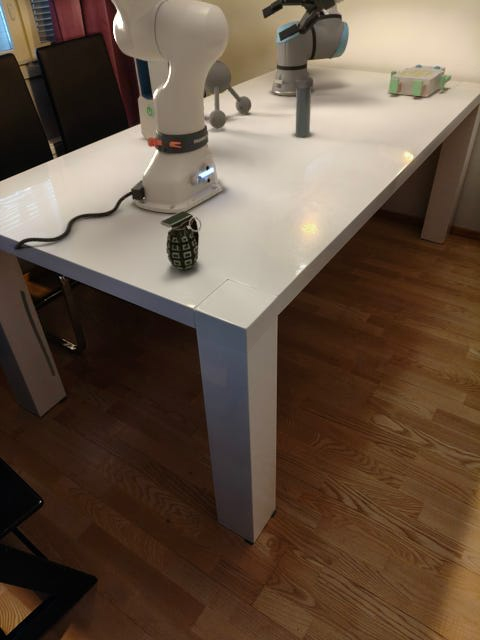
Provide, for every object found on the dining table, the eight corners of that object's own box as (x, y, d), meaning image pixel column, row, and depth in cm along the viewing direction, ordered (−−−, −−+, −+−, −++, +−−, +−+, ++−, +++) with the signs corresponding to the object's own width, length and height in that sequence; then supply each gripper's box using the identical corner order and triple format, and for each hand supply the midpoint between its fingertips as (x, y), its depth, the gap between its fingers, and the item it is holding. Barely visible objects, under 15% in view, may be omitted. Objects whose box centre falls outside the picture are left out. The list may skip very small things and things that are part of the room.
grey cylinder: (312, 134, 149) (314, 79, 139) (303, 138, 147) (305, 82, 137) (301, 132, 151) (303, 78, 142) (292, 135, 149) (293, 80, 140)
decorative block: (405, 62, 193) (457, 66, 183) (403, 80, 197) (453, 84, 187) (379, 75, 177) (434, 80, 167) (377, 94, 181) (431, 100, 171)
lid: (316, 86, 140) (316, 77, 139) (305, 89, 138) (305, 81, 136) (302, 83, 144) (303, 75, 142) (291, 87, 141) (291, 79, 139)
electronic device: (141, 137, 154) (123, 28, 136) (159, 131, 158) (144, 24, 140) (166, 145, 147) (151, 30, 129) (185, 138, 151) (172, 26, 133)
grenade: (182, 278, 88) (175, 228, 82) (162, 268, 91) (153, 219, 85) (208, 263, 92) (203, 214, 85) (187, 253, 95) (181, 205, 89)
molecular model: (271, 118, 163) (270, 14, 145) (215, 133, 154) (207, 23, 136) (232, 105, 179) (227, 9, 161) (180, 117, 170) (168, 17, 151)
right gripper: (323, -24, 141) (258, 14, 150) (345, 24, 163) (288, 55, 172) (317, -46, 142) (253, -7, 151) (340, 4, 164) (283, 36, 173)
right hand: (271, 26), depth 162 cm, fingers open, 13 cm apart
